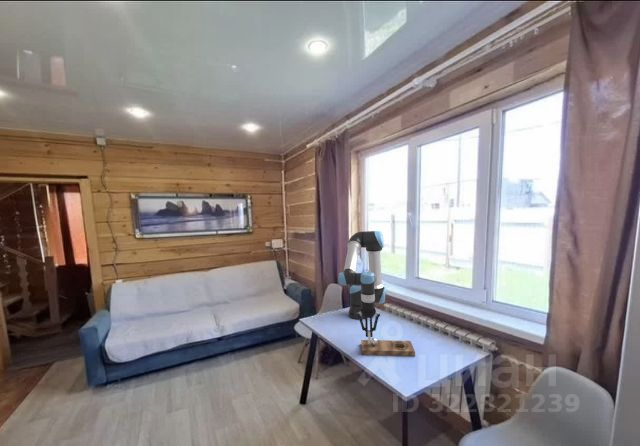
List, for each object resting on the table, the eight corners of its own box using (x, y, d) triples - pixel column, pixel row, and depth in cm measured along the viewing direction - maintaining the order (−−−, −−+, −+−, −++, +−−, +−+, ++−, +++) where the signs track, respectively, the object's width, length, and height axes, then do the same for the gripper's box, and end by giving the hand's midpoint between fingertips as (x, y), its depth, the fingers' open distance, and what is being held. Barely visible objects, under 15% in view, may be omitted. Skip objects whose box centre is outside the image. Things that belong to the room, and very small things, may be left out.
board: (361, 354, 145) (361, 350, 145) (361, 344, 157) (361, 339, 157) (415, 356, 141) (415, 351, 141) (410, 345, 153) (410, 340, 153)
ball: (369, 341, 152) (372, 335, 152) (375, 344, 152) (378, 338, 151) (369, 344, 148) (372, 338, 148) (375, 348, 148) (379, 342, 147)
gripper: (356, 302, 147) (357, 345, 147) (380, 303, 145) (381, 346, 145) (356, 298, 154) (357, 339, 155) (379, 298, 152) (380, 339, 153)
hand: (369, 342), depth 150 cm, fingers closed
